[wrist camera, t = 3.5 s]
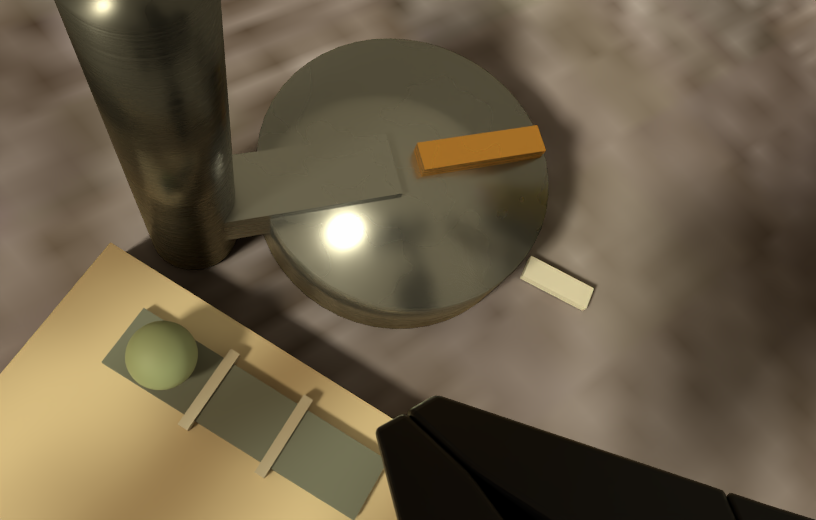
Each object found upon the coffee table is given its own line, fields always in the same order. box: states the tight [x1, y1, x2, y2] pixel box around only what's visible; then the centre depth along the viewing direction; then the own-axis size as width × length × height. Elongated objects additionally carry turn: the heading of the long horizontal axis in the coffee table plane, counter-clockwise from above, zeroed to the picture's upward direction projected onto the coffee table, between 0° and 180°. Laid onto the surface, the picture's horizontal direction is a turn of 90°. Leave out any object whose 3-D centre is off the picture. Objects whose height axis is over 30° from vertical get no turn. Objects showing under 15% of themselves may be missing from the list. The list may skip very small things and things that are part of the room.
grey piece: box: [54, 0, 548, 329], centre depth 18 cm, size 12×9×12 cm
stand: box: [0, 243, 397, 520], centre depth 18 cm, size 12×9×3 cm
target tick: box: [520, 256, 594, 311], centre depth 24 cm, size 2×1×1 cm, turn 64°
